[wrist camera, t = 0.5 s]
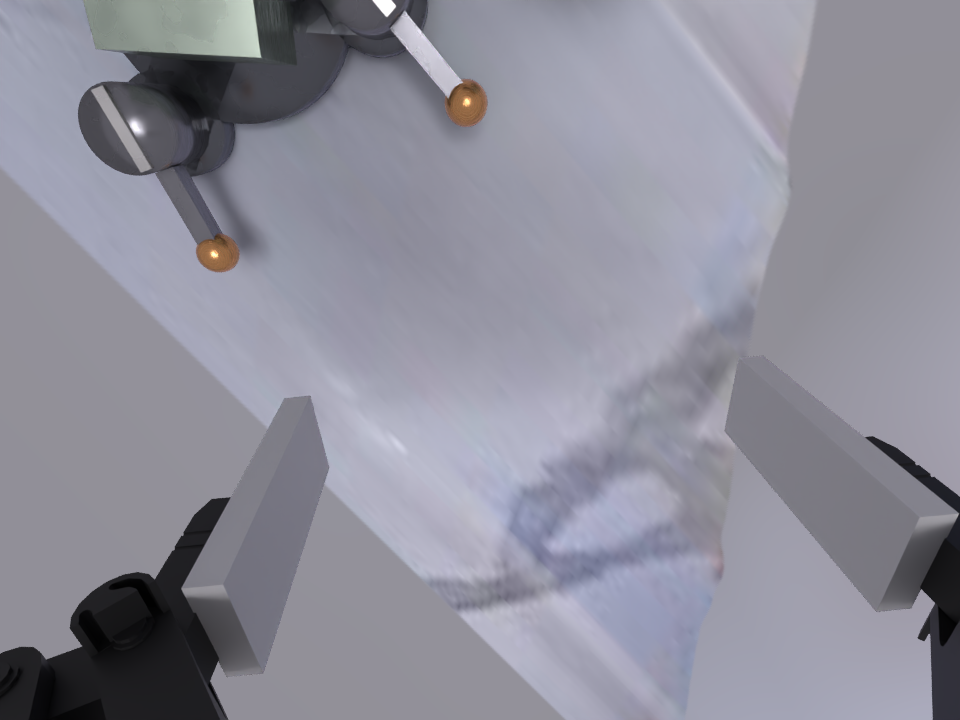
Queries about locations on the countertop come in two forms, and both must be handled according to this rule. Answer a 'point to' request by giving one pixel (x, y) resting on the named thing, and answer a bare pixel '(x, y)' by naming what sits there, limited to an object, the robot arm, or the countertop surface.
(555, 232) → the countertop surface
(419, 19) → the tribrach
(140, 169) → the foot screw
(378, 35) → the foot screw
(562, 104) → the countertop surface
